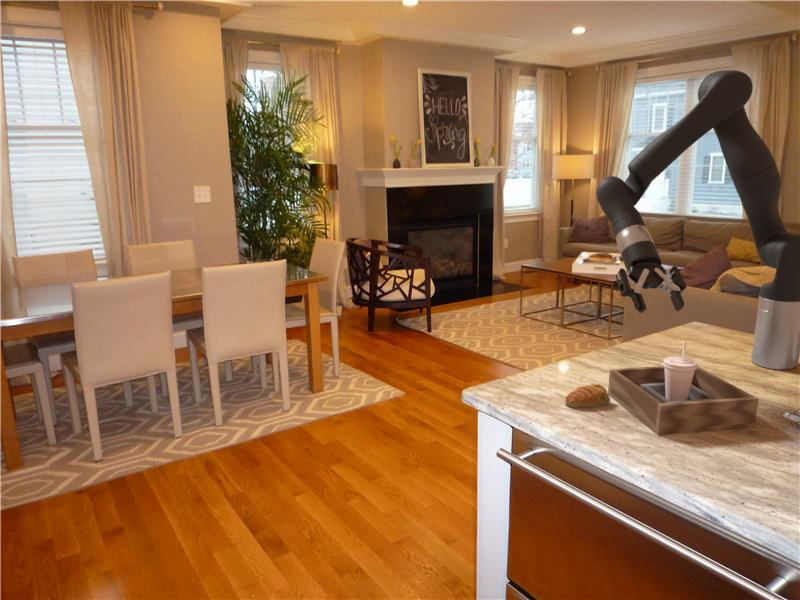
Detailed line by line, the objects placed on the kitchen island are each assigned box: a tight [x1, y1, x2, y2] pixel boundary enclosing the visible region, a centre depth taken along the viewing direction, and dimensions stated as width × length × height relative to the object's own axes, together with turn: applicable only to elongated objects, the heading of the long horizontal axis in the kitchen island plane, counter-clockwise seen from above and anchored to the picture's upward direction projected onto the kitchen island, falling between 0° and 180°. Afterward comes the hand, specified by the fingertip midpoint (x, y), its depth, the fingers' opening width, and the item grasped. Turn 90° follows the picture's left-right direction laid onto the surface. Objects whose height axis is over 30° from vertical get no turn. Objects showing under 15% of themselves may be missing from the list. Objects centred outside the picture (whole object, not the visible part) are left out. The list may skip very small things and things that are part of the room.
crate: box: [607, 365, 759, 436], centre depth 120 cm, size 20×20×6 cm
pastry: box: [565, 383, 611, 409], centre depth 125 cm, size 9×7×4 cm
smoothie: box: [662, 340, 698, 401], centre depth 119 cm, size 6×6×14 cm
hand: (661, 309), depth 125 cm, fingers open, 8 cm apart
